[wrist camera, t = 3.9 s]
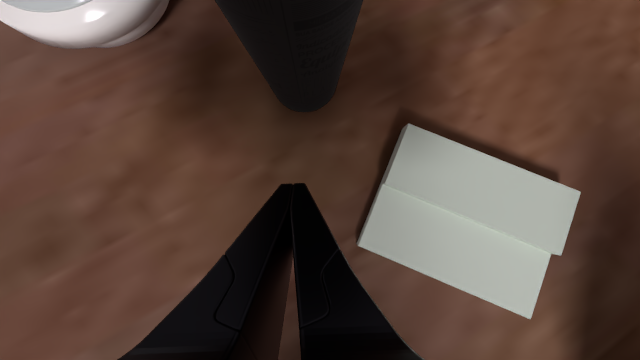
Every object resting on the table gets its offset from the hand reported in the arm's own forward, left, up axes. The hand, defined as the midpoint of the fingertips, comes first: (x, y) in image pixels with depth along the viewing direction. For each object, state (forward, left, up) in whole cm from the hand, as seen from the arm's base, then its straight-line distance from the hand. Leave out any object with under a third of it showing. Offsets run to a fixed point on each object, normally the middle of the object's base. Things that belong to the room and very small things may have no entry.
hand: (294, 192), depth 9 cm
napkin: (-9, -6, -9) cm, 14 cm away
